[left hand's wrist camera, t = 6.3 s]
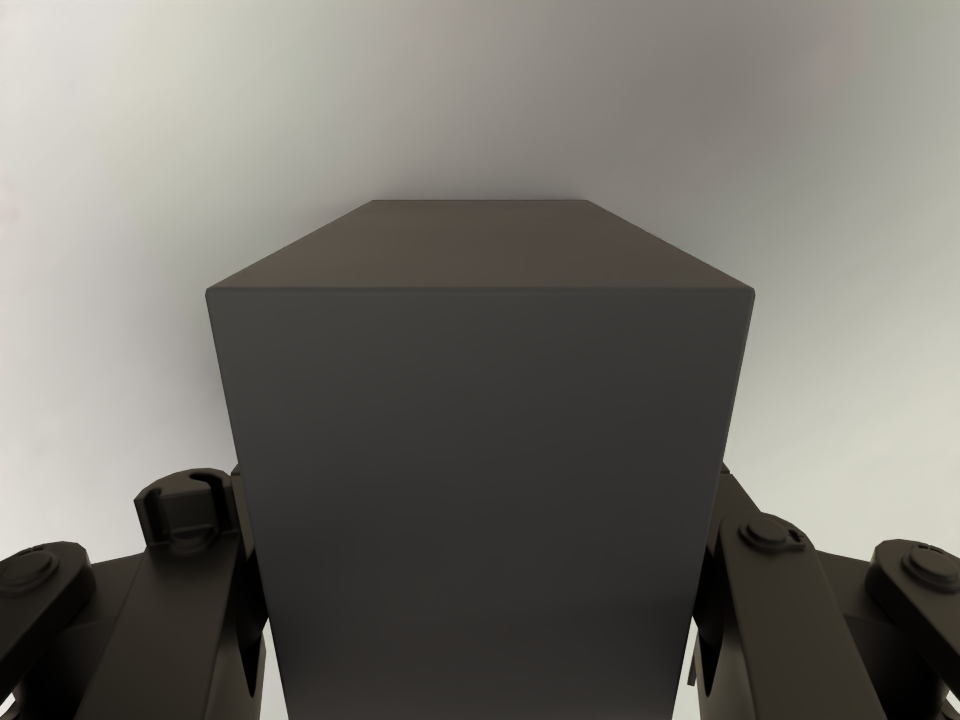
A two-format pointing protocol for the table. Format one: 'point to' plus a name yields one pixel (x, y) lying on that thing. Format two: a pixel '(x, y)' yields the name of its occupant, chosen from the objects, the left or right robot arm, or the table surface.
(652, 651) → the post
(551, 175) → the table surface
